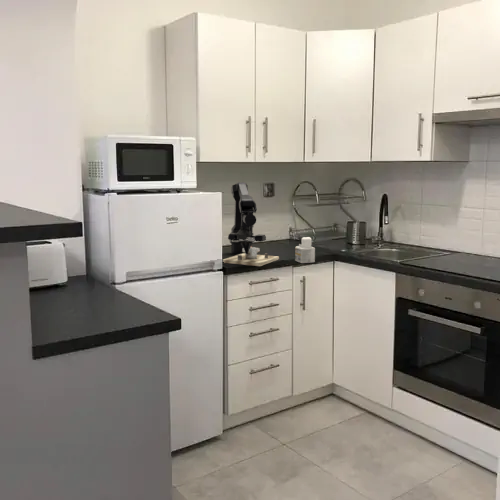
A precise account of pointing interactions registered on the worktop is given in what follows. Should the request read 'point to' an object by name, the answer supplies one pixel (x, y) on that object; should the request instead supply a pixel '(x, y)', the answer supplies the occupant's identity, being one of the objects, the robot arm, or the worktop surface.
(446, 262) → the worktop surface
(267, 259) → the base plate
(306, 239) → the container
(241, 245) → the robot arm
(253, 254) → the grey piece
